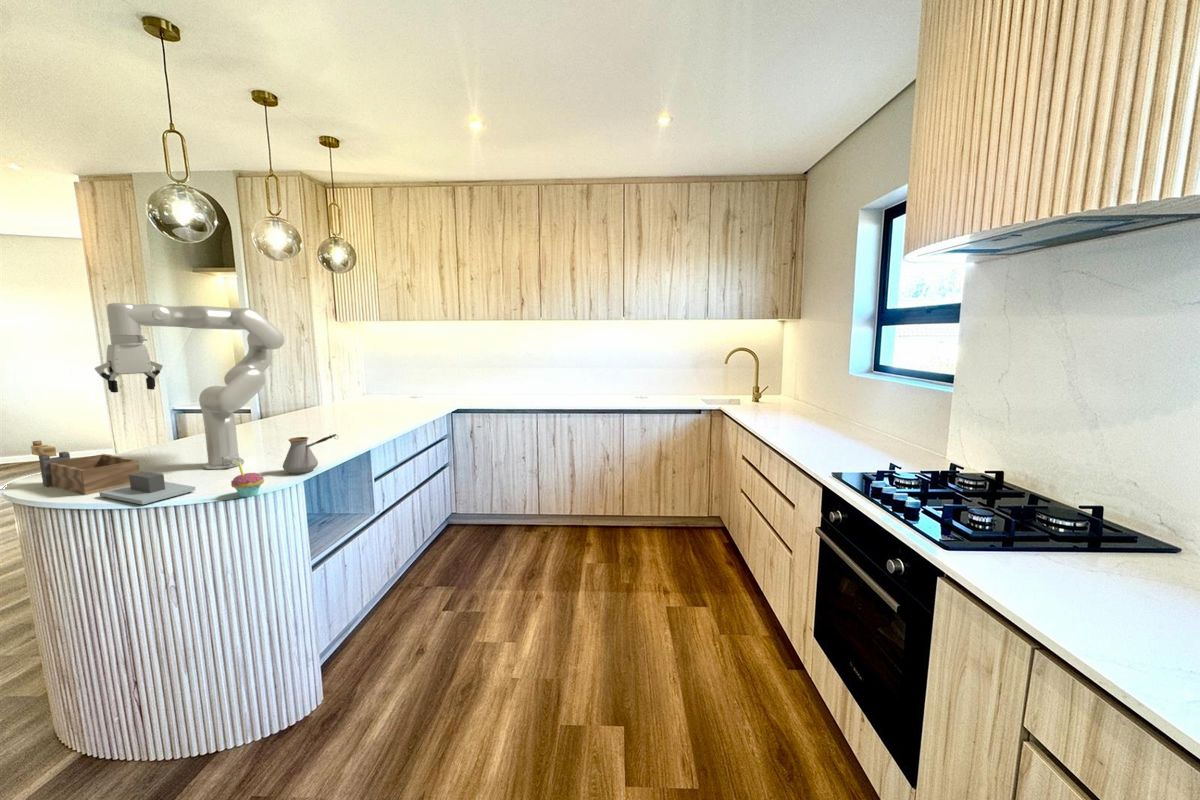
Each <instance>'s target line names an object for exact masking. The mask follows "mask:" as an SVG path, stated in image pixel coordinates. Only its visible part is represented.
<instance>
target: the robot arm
mask: <svg viewBox="0 0 1200 800" xmlns="http://www.w3.org/2000/svg"><path fill="white" fill-rule="evenodd" d="M106 313H107V322H108V328H109V336H110V344H107V348H106V362H105V363H102V364H100V365H98V366H95V367H94V370H95V371H96V373H97V374H98V376H99V377H100V378H103V379H105V381H107V386H108V387H107V388H108V390H109V392H110V393H115V394H116V393H118V392H119V387H118V381H117V380H115V379H116V378H117V377H118V376H119V375H134V374H135V375H136V374H137V375H138V374H139V375H140V374H144V376H146V378H145V382H146V383H145V384H146V388H147V390H155V387H156V380H155V379H156V378H157V376H158V375H160V374H161V370H162V369H163V365H162V364H160V363H157V362H155V361H152V360H151V358H150V354H149V351H148V349H147V346H146V344H143V343H144V341H145V342H147V341H148V337H146V336H143V335H142V328H141V326H144V327H173V328H176V327H177V328H186V329H187V328H188V329H203V330H206V329H207V330H209V329H210V330H233V331H234V330H235V331H236V330H237V331H238V330H239V331H241V330H246V331H247V332H248V334H247V338H246V340H247V345H248V350H247V351H248V352H247V354H245V356H244V357H243V358H242V359H241V360H240V361H239V362H238V363H236V365H234V366H233V367H232V368H230V369H229V370H228V371H227V373H226V374H225V375H224V378H223V379H224V380H223V381H224V384H225V385H226V386H220V385H213V386H208V387H206V388H204V389H203V390H202V391H201V392H200V394H199V397H198V402H199V406H200V410H201V412H202V417H203V418H202V419H203V425H204V434H205V435H204V437H205V443H206V444H205V445H206V452H207V453H206V454H207V462H206V463H204V464H203V469H206V470H222V469H229V468H234V467H239V465H238V463H239V462H240V463H241V465H243V464H244V463H245V460H244V459H243V458H242V457H240V455H239V447H238V436H237V435H238V434H237V428H236V426H237V423H236V419H235V418H236V417H235V414H234V412H237V411H239V410H240V409H242V408H243V407H244V406H246V404H247V403H249V401H251V399H253V397H255V396H256V395H257V394H258V393H259V392H260V390H262V388H264V385H265V383H266V378H265V374H264V372H265V371H266V370H267V369H268V367H269V366H270V364H271V361H272V350H278V349H280V348H281V347H283V345H284V343H285V337H284V334H283V333H282V332H281V330H280V329H279V328H277V327H276V326H275V325H274V324H272V323H271V322H270V321H269V320H268V319H267V318H265V317H264V316H263V315H261V313H259V312H257V311H256V310H254V309H252V308H250V307H249V308H248V307H240V308H239V307H222V306H208V305H187V306H185V305H184V306H169V305H168V306H167V305H162V304H157V303H148V304H147V303H145V304H135V303H125V302H124V303H123V302H111V303H107V305H106ZM152 367H154V370H153V371H152ZM105 369H106V371H107V373H106V372H105V371H104V370H105ZM238 461H239V462H238Z"/></svg>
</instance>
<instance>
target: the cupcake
mask: <svg viewBox="0 0 1200 800" xmlns="http://www.w3.org/2000/svg"><path fill="white" fill-rule="evenodd" d="M238 462H239V461H238ZM238 465H239V466H238V468H239V471H240V475H237V476H235V477H233V478H232V480H231V485H230V486H231V487H232V488H234V489H235V490H236V493H238V495H239V497H240V498H250V497H254V496H256V495H258V494H259V491H260V488H261V485H262V484H264V482H265V479H264V476H263V475H262V474H260V473H256V472H246V473H244V470H243V466H242V464H241V463H240V462H239V463H238Z"/></svg>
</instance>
